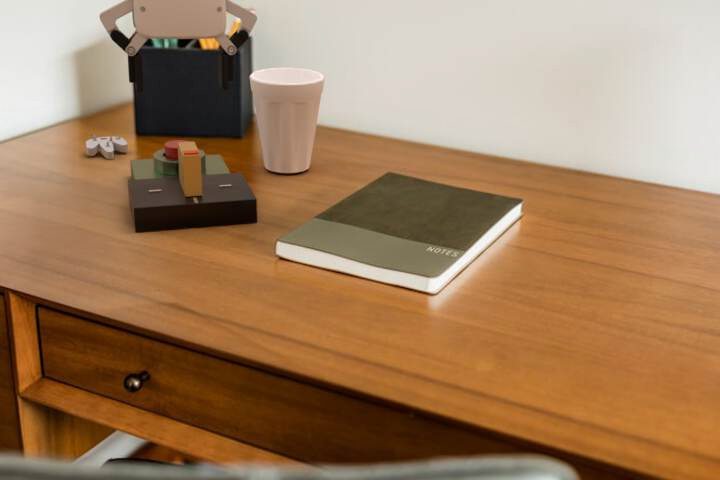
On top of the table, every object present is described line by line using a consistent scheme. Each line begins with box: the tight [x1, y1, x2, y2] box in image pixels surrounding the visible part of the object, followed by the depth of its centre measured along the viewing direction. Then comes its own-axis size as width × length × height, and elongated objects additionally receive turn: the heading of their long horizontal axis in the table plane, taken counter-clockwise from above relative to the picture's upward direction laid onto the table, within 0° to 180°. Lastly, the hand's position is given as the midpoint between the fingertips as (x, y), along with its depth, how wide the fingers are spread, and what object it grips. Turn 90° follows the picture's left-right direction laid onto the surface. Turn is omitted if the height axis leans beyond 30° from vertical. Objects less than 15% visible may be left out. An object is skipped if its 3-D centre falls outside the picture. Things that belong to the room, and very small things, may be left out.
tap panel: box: [127, 172, 258, 233], centre depth 108 cm, size 14×10×3 cm
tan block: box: [178, 141, 202, 197], centre depth 106 cm, size 6×2×5 cm, turn 17°
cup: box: [249, 67, 326, 174], centre depth 122 cm, size 10×10×13 cm
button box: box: [129, 148, 231, 180], centre depth 117 cm, size 12×9×4 cm
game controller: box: [85, 133, 129, 160], centre depth 130 cm, size 6×12×3 cm, turn 45°
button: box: [164, 139, 191, 159], centre depth 116 cm, size 4×4×2 cm
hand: (181, 88), depth 104 cm, fingers open, 9 cm apart
